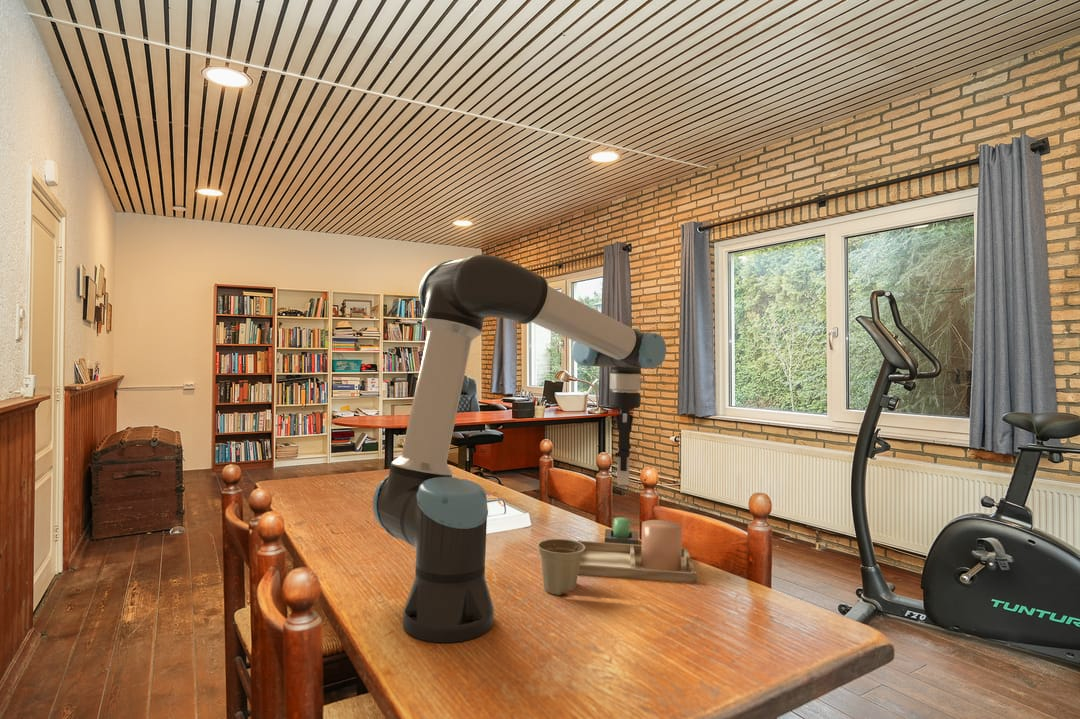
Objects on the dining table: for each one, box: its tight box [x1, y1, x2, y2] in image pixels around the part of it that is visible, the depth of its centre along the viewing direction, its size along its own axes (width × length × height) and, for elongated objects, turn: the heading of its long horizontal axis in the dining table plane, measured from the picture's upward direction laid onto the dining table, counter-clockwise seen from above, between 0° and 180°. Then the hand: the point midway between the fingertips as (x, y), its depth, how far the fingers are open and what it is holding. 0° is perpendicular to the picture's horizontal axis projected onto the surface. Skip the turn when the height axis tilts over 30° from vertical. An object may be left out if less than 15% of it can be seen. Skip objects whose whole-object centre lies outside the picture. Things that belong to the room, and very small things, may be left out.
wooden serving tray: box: [577, 540, 698, 584], centre depth 132 cm, size 18×25×3 cm
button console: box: [604, 528, 640, 545], centre depth 147 cm, size 8×8×3 cm
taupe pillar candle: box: [640, 519, 683, 571], centre depth 131 cm, size 9×9×9 cm
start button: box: [612, 516, 631, 538], centre depth 147 cm, size 4×4×5 cm
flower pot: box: [536, 538, 585, 596], centre depth 118 cm, size 9×9×9 cm
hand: (622, 479), depth 147 cm, fingers open, 12 cm apart
